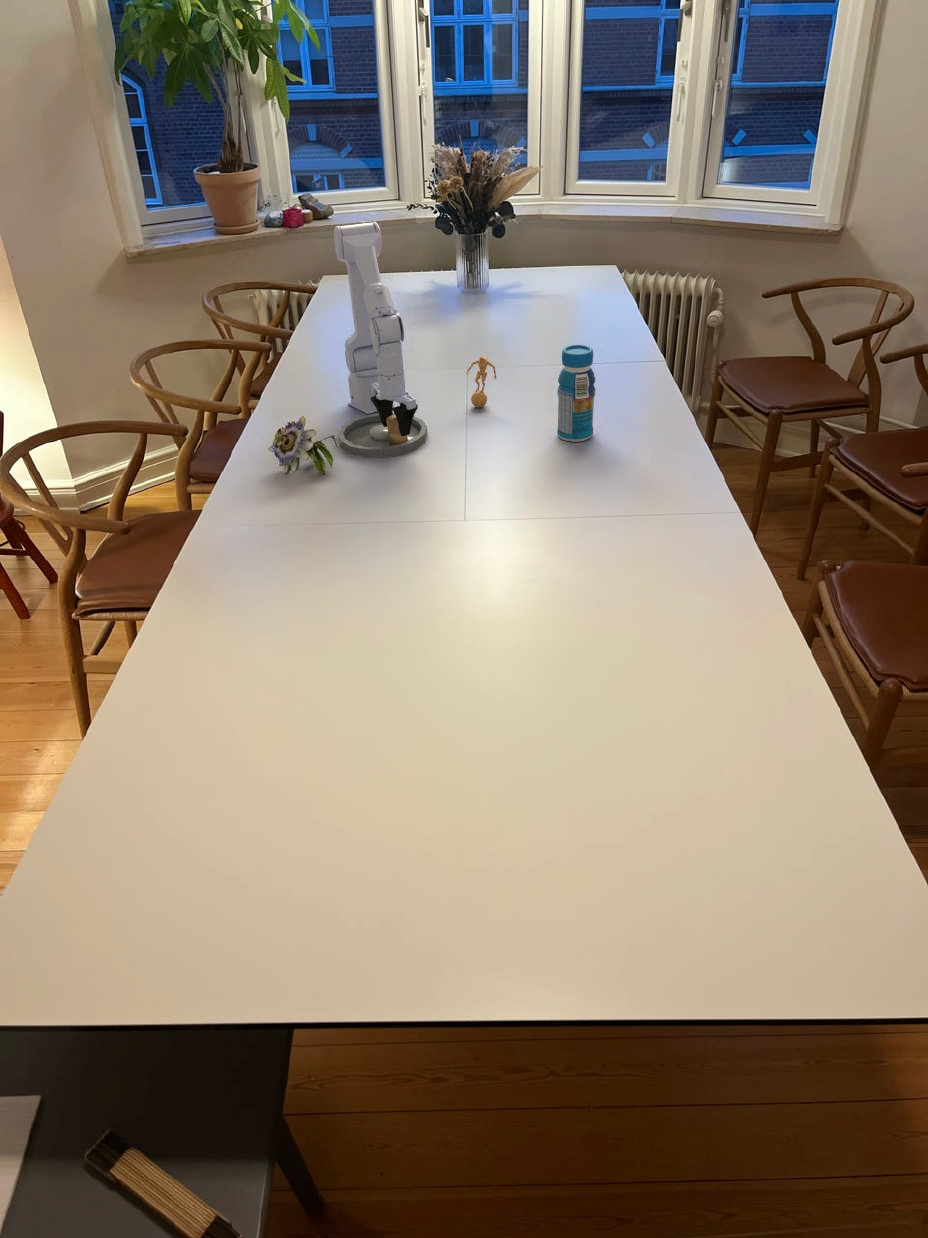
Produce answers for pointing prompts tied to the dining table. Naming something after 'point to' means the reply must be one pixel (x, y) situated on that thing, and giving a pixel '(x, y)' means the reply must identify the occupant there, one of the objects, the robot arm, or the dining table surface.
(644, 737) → the dining table surface
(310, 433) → the passion flower
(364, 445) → the round tray
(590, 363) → the beverage bottle
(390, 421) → the oak bead
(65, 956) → the dining table surface
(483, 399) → the figurine
